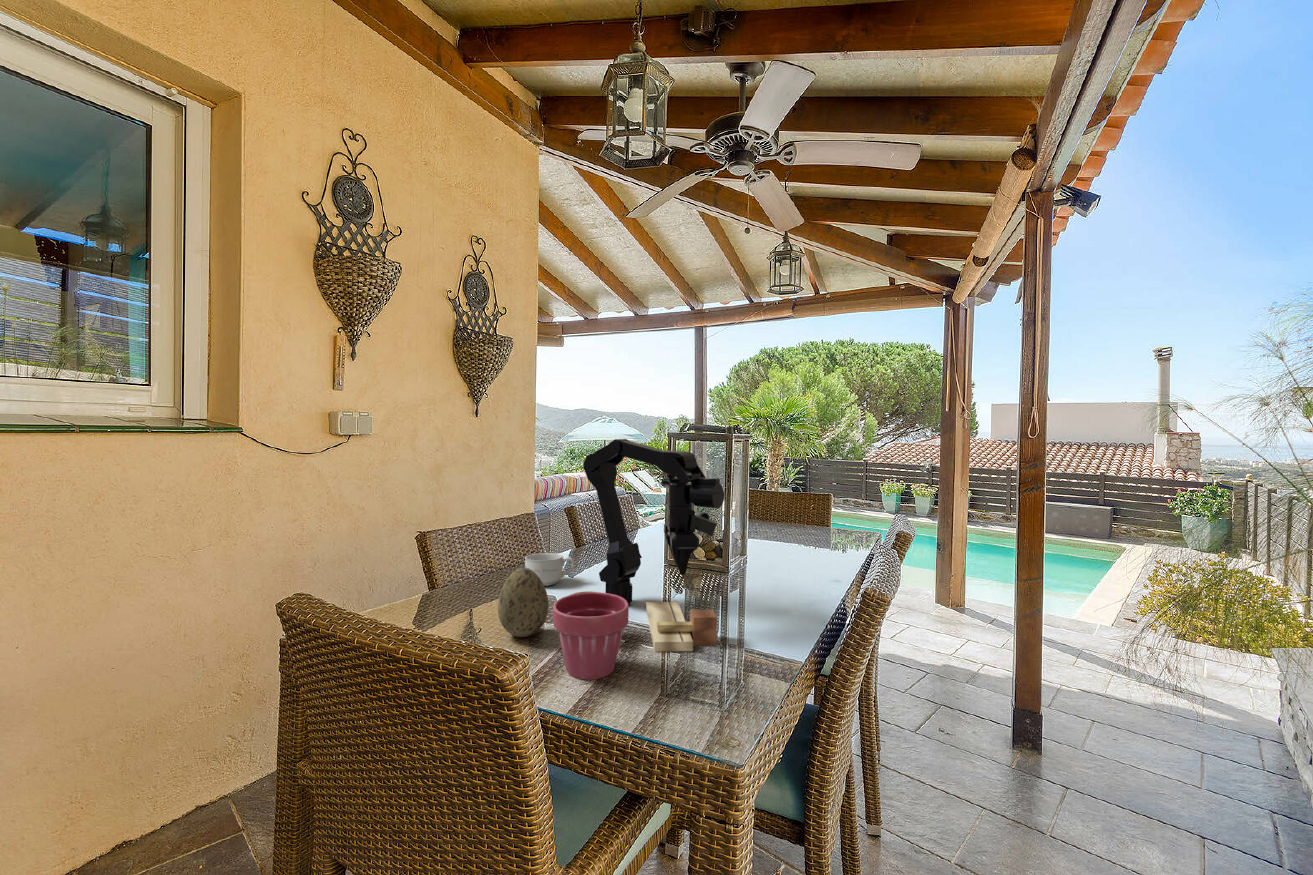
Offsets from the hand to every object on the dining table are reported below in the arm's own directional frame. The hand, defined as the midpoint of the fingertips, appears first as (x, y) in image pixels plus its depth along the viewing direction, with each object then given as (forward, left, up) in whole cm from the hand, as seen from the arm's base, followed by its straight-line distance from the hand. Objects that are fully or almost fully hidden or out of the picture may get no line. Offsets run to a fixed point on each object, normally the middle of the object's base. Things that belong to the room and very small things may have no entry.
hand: (680, 569), depth 137 cm
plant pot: (-20, -26, -12) cm, 35 cm away
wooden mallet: (0, -13, -12) cm, 18 cm away
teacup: (-33, +29, -12) cm, 46 cm away
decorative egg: (-35, -9, -12) cm, 39 cm away
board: (-3, -6, -12) cm, 14 cm away
